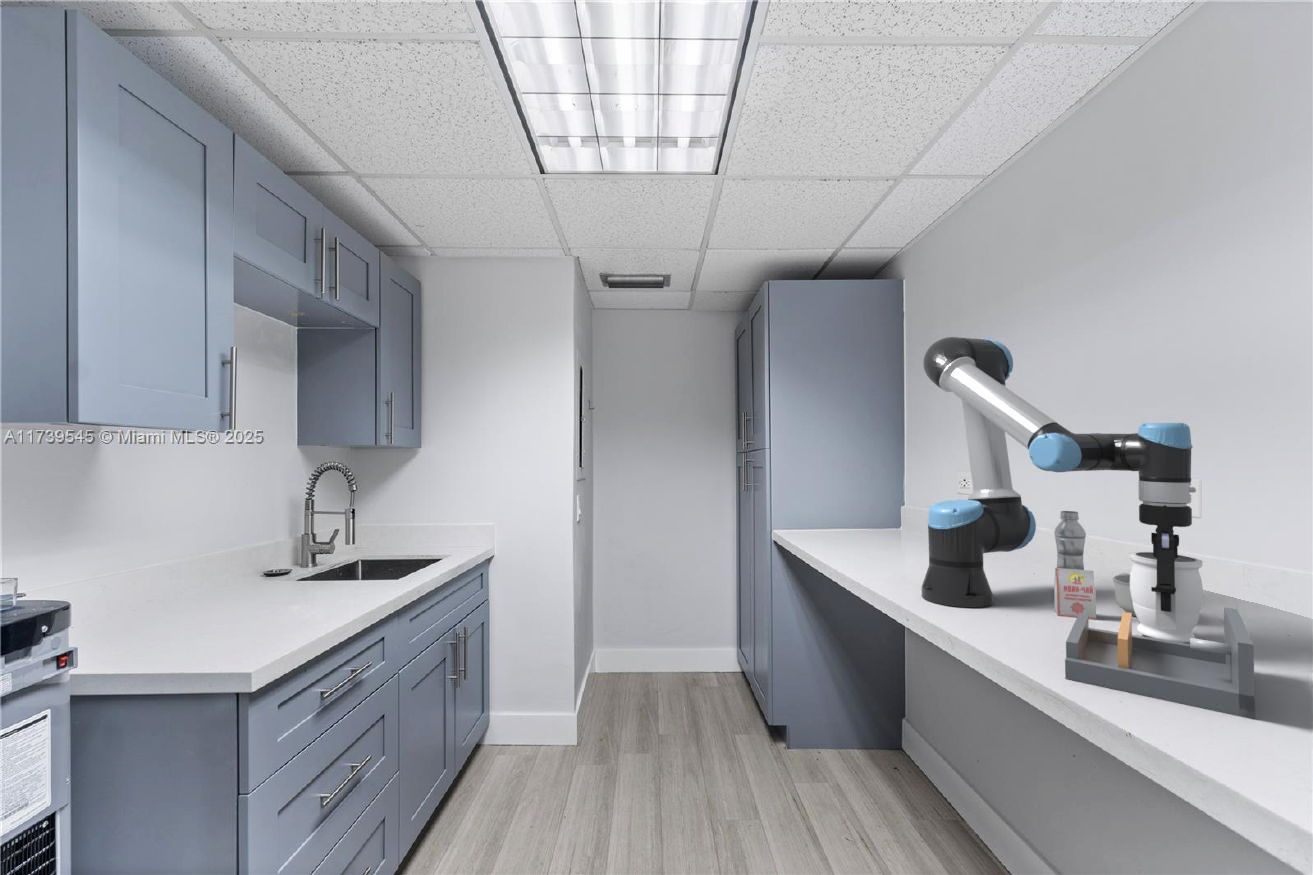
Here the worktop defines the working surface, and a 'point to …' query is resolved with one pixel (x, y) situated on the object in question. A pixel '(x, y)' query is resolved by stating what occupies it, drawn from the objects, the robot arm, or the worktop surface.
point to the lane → (1170, 666)
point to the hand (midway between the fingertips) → (1165, 620)
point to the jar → (1186, 593)
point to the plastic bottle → (1070, 541)
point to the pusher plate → (1125, 641)
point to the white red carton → (1074, 593)
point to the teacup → (1123, 592)
